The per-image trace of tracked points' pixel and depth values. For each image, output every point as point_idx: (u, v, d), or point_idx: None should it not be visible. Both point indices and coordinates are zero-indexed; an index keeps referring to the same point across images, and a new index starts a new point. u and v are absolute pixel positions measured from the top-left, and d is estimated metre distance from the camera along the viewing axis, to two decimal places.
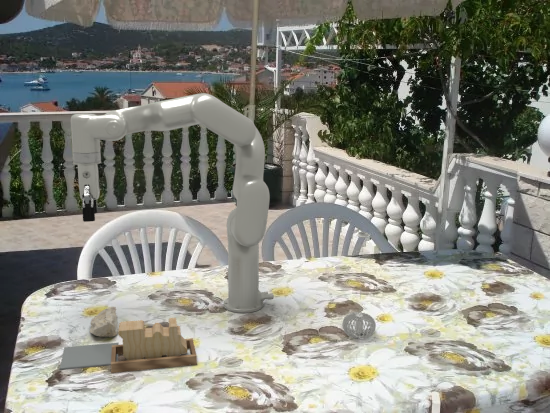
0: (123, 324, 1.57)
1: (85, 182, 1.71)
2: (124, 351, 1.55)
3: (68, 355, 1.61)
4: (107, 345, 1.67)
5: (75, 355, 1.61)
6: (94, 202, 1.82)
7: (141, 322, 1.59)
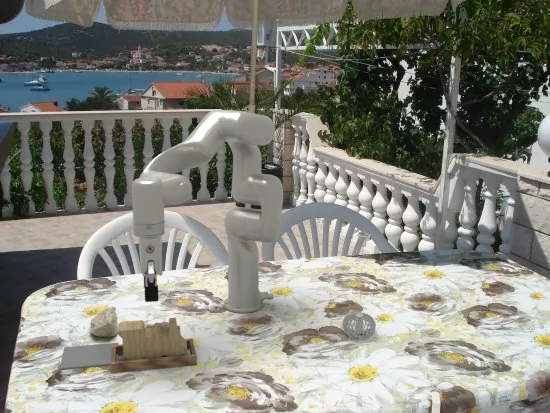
0: (123, 324, 1.57)
1: (148, 258, 1.49)
2: (124, 351, 1.55)
3: (68, 355, 1.61)
4: (107, 345, 1.67)
5: (75, 355, 1.61)
6: None
7: (141, 322, 1.59)
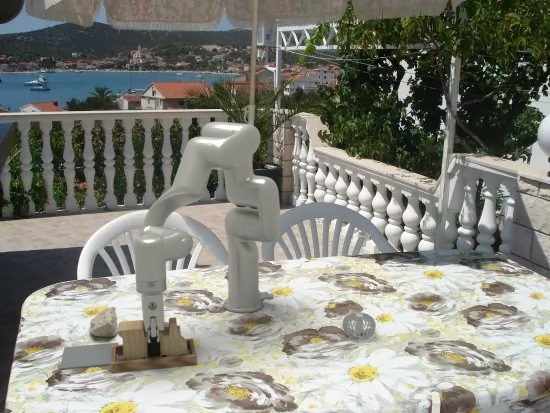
0: (123, 324, 1.57)
1: (151, 314, 1.52)
2: (124, 351, 1.55)
3: (68, 355, 1.61)
4: (107, 345, 1.67)
5: (75, 355, 1.61)
6: None
7: (141, 322, 1.59)
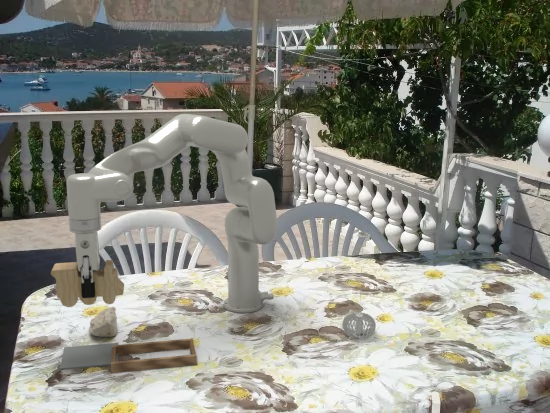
0: (57, 265, 1.55)
1: (83, 253, 1.50)
2: (58, 291, 1.53)
3: (68, 355, 1.61)
4: (107, 345, 1.67)
5: (75, 355, 1.61)
6: None
7: (76, 263, 1.56)
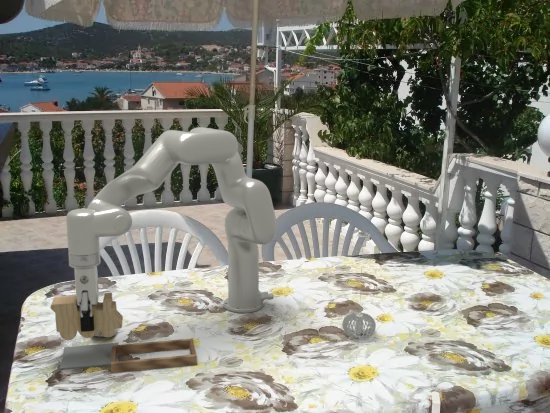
0: (57, 299, 1.57)
1: (82, 288, 1.52)
2: (57, 325, 1.55)
3: (68, 355, 1.61)
4: (107, 345, 1.67)
5: (75, 355, 1.61)
6: None
7: (75, 297, 1.59)
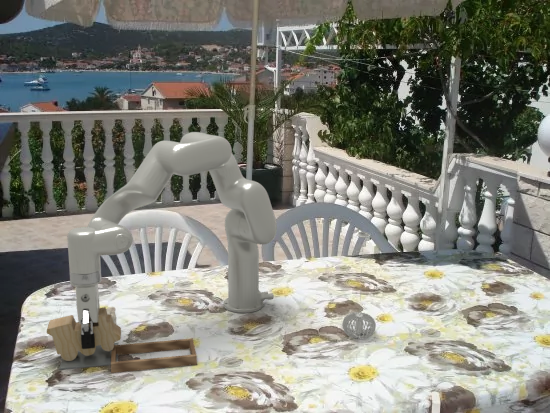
0: (52, 322, 1.58)
1: (83, 306, 1.53)
2: (57, 348, 1.56)
3: None
4: None
5: None
6: None
7: (70, 317, 1.59)
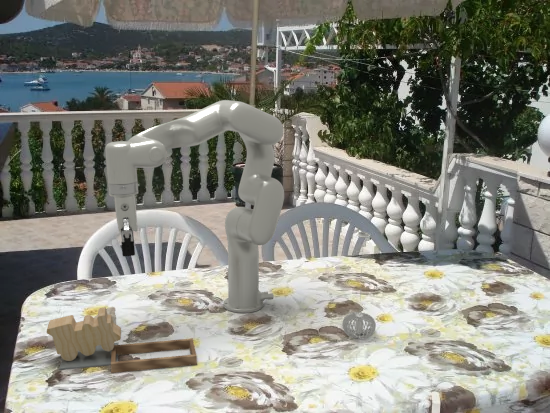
0: (52, 322, 1.58)
1: (123, 215, 1.61)
2: (57, 348, 1.56)
3: None
4: None
5: None
6: (131, 233, 1.72)
7: (70, 317, 1.59)
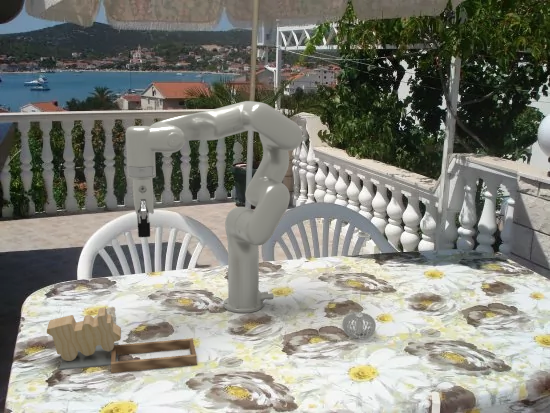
0: (52, 322, 1.58)
1: (141, 197, 1.66)
2: (57, 348, 1.56)
3: None
4: None
5: None
6: None
7: (70, 317, 1.59)
